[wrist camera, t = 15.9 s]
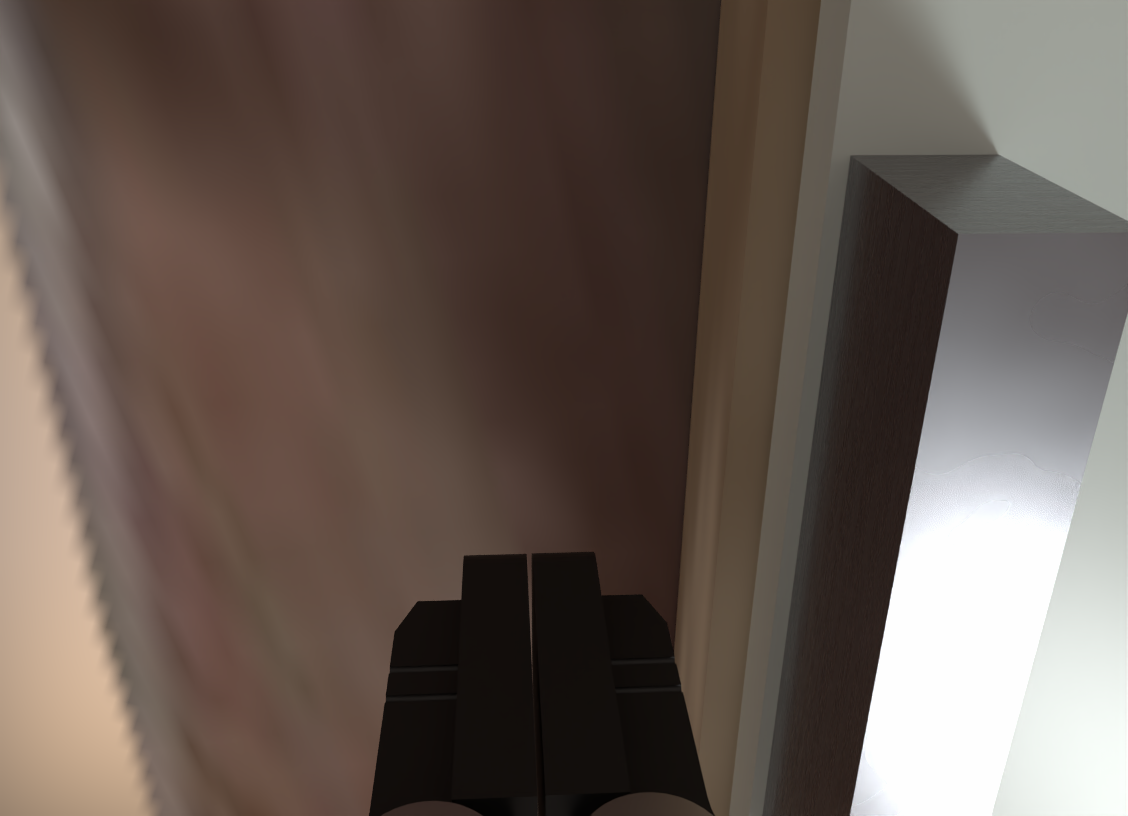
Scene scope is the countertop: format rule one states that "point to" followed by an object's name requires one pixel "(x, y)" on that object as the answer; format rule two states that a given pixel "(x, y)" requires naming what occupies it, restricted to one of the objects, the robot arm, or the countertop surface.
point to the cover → (950, 425)
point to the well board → (739, 356)
